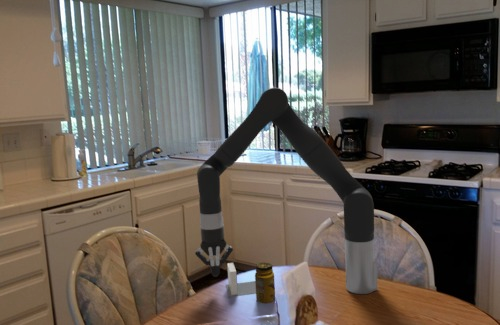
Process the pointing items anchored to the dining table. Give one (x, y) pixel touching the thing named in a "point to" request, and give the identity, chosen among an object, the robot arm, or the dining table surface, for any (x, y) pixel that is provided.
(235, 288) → the tile
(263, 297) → the condiment
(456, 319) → the dining table surface
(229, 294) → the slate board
